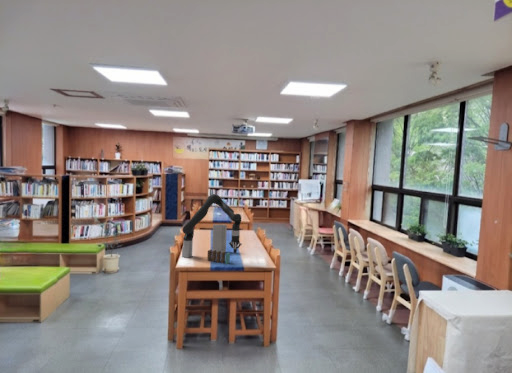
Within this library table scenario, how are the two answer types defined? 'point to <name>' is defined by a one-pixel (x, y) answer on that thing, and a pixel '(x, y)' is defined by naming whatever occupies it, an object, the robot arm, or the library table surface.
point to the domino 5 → (227, 258)
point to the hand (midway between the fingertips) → (235, 252)
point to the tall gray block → (219, 238)
